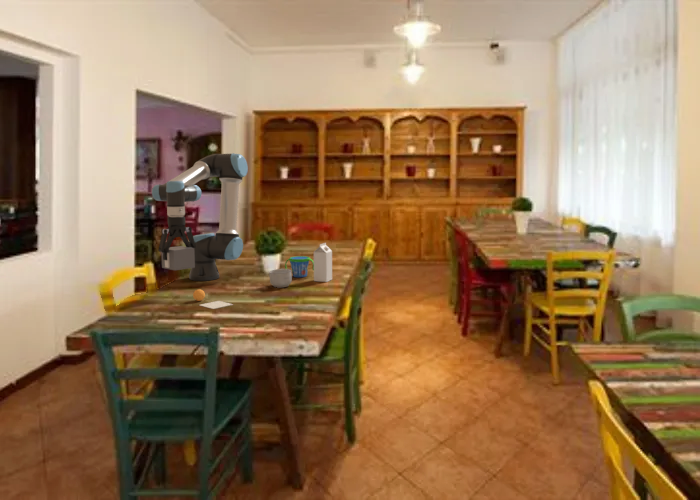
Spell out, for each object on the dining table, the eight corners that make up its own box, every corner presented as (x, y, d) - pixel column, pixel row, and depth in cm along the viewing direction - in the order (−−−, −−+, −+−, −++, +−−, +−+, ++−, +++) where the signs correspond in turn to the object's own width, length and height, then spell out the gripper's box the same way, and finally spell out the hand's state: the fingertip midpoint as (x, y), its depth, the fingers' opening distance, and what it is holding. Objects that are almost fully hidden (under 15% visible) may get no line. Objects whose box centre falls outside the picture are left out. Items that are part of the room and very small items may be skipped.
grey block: (162, 267, 259) (161, 248, 257) (182, 265, 266) (181, 246, 265) (174, 270, 252) (173, 250, 251) (194, 267, 260) (194, 247, 258)
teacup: (287, 289, 275) (287, 272, 274) (266, 288, 277) (265, 271, 276) (296, 283, 289) (296, 267, 287) (275, 282, 291) (275, 267, 290)
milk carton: (313, 281, 294) (313, 244, 292) (319, 278, 301) (319, 242, 298) (326, 282, 292) (326, 244, 289) (332, 279, 298) (332, 243, 295)
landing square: (198, 305, 243) (198, 304, 243) (218, 301, 250) (218, 300, 250) (213, 309, 236) (213, 308, 236) (233, 304, 244) (233, 304, 244)
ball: (191, 300, 251) (190, 289, 250) (200, 298, 255) (200, 287, 254) (197, 302, 248) (197, 291, 247) (207, 300, 252) (207, 289, 251)
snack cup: (282, 277, 304) (282, 258, 303) (289, 274, 314) (288, 255, 313) (310, 279, 300) (310, 259, 299) (316, 275, 310) (316, 256, 309)
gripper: (157, 218, 245) (159, 270, 248) (203, 215, 262) (204, 263, 265) (148, 217, 250) (150, 268, 253) (193, 214, 267) (195, 262, 270)
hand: (178, 265), depth 259 cm, fingers closed on grey block, 10 cm apart
